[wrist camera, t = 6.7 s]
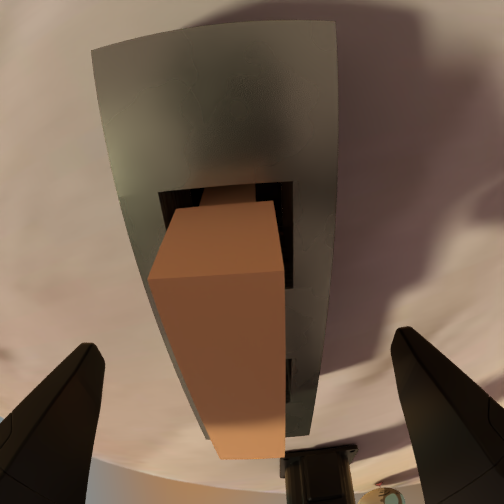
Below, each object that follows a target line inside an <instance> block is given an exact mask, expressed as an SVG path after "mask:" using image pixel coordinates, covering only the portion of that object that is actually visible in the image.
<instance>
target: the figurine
mask: <svg viewBox="0 0 504 504" xmlns="http://www.w3.org/2000/svg"><path fill="white" fill-rule="evenodd" d="M382 483H383V482H381V483H378V484H376V485H378V486H380V485H381V484H382ZM358 504H405V499H404V497H403V495H402V494H401V493H400V492H399V491H397V490H395V489H392V488H378V489H374V490H372V491H370V492H368V493H366V494H365V495H364V496H363V497H362V498H361V499H360V500H359V502H358Z"/></svg>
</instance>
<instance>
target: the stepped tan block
mask: <svg viewBox="0 0 504 504" xmlns="http://www.w3.org/2000/svg"><path fill="white" fill-rule="evenodd" d="M147 280H148V283H149V286H150V289H151V292H152V295H153V298H154V301H155V304H156V307H157V310H158V312H159V315H160V318H161V321H162V324H163V326H164V329H165V332H166V335H167V337H168V340H169V343H170V345H171V348H172V351H173V353H174V356H175V358H176V361H177V363H178V366H179V368H180V371H181V373H182V376H183V378H184V381H185V383H186V385H187V388H188V390H189V392H190V395H191V397H192V399H193V402H194V404H195V406H196V409H197V411H198V413H199V415H200V417H201V420H202V422H203V424H204V426H205V428H206V431H207V433H208V435H209V437H210V439H211V441H212V443H213V445H214V447H215V449H216V451H217V453H218V456H219V458H220V459H264V458H281V457H285V405H286V345H285V278H284V265H283V259H282V252H281V246H280V240H279V233H278V227H277V221H276V215H275V209H274V203H273V201H262V202H256V190H255V183H253V184H239V185H226V186H214V187H205V189H204V192H203V195H202V198H201V202H200V205H199V207H189V208H179V209H176V210H175V213H174V215H173V217H172V220H171V222H170V224H169V227H168V229H167V231H166V234H165V236H164V239H163V241H162V243H161V246H160V248H159V251H158V253H157V256H156V258H155V261H154V263H153V266H152V268H151V271H150V274H149V276H148V279H147Z"/></svg>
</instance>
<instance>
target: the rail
mask: <svg viewBox="0 0 504 504" xmlns="http://www.w3.org/2000/svg"><path fill="white" fill-rule="evenodd" d="M91 55H92V63H93V71H94V78H95V85H96V91H97V98H98V104H99V110H100V115H101V121H102V126H103V131H104V137H105V142H106V146H107V151H108V156H109V160H110V165H111V169H112V174H113V178H114V182H115V186H116V190H117V194H118V198H119V202H120V206H121V210H122V214H123V217H124V221H125V225H126V228H127V232H128V235H129V239H130V242H131V246H132V249H133V252H134V256H135V259H136V262H137V265H138V269H139V272H140V275H141V278H142V281H143V284H144V287H145V290H146V293H147V296H148V299H149V302H150V305H151V308H152V310H153V313H154V316H155V319H156V322H157V324H158V327H159V330H160V332H161V335H162V338H163V340H164V343H165V346H166V348H167V351H168V353H169V356H170V358H171V361H172V363H173V366H174V368H175V371H176V373H177V376H178V378H179V380H180V383H181V385H182V387H183V390H184V392H185V394H186V397H187V399H188V401H189V403H190V406H191V408H192V410H193V412H194V414H195V417H196V419H197V421H198V423H199V425H200V427H201V429H202V432H203V434H204V436H205V438H206V439H208V440H211V439H210V437H209V435H208V433H207V431H206V428H205V426H204V424H203V422H202V420H201V417H200V415H199V413H198V411H197V409H196V406H195V404H194V402H193V399H192V397H191V395H190V392H189V390H188V388H187V385H186V383H185V381H184V378H183V376H182V373H181V371H180V368H179V366H178V363H177V361H176V358H175V356H174V353H173V351H172V348H171V345H170V343H169V340H168V337H167V335H166V332H165V329H164V326H163V324H162V321H161V318H160V315H159V312H158V310H157V307H156V304H155V301H154V298H153V295H152V292H151V289H150V286H149V283H148V280H147V279H148V276H149V274H150V271H151V268H152V266H153V263H154V261H155V258H156V256H157V253H158V251H159V248H160V246H161V243H162V241H163V239H164V236H165V234H166V231H167V229H168V227H169V224H170V222H171V220H172V217H173V215H174V213H175V210H176V209H179V208H189V207H193V204H192V198H191V192H190V189H192V188H203V187H214V186H226V185H239V184H253V183H268V182H281V205H282V227H278V233H279V240H280V246H281V252H282V259H283V265H284V278H285V345H286V405H285V437H295V436H305V435H309V433H310V428H311V422H312V417H313V411H314V405H315V399H316V393H317V387H318V380H319V373H320V367H321V360H322V352H323V345H324V337H325V329H326V320H327V312H328V302H329V293H330V283H331V272H332V260H333V247H334V233H335V217H336V198H337V173H338V64H337V40H336V23H335V21H320V20H265V21H247V22H234V23H223V24H214V25H206V26H198V27H192V28H185V29H179V30H173V31H168V32H163V33H157V34H153V35H148V36H143V37H139V38H135V39H131V40H127V41H123V42H119V43H115V44H112V45H108V46H105V47H101V48H98V49H95V50H91Z"/></svg>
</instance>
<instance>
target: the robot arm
mask: <svg viewBox="0 0 504 504" xmlns="http://www.w3.org/2000/svg"><path fill="white" fill-rule="evenodd" d="M391 357H392V362H393V367H394V372H395V378H396V383H397V389H398V394H399V399H400V403H401V406H402V410H403V413H404V417H405V420H406V424H407V428H408V431H409V435H410V439H411V443H412V447H413V451H414V455H415V459H416V463H417V468H418V472H419V476H420V481H421V486H422V490H423V495H424V500H425V504H504V408H503V407H502V406H500V405H499V404H498V403H497V402H496V401H495V400H494V399H493V398H492V397H489V395H488V394H487V393H486V392H485V391H484V390H483V389H482V388H481V387H479V386H478V385H477V384H476V383H475V382H474V381H473V380H472V379H471V378H469V377H468V376H467V375H466V374H465V373H464V372H463V371H462V370H460V369H459V368H458V367H457V366H456V365H455V364H454V363H453V362H451V361H450V360H449V359H448V358H447V357H446V356H445V355H443V354H442V353H441V352H440V351H439V350H438V349H437V348H435V347H434V346H433V345H432V344H431V343H430V342H428V341H427V340H426V339H425V338H424V337H423V336H421V335H420V334H419V333H418V332H417V331H416V330H414V329H413V328H412V327H410V326H407V327H400V328H398V329H397V330H396V332H395V335H394V338H393V341H392V344H391ZM104 372H105V361H104V358H103V357H102V355H101V353H100V351H99V350H98V348H97V346H96V345H95V344H94V343H82V344H80V345H79V346H78V347H77V348H76V349H75V350H74V351H73V352H72V353H71V354H70V355H69V356H68V357H66V358H65V359H64V360H63V361H62V362H61V363H60V364H59V365H58V366H57V367H56V368H55V369H54V370H53V371H52V372H51V373H50V374H49V375H48V376H47V377H46V378H45V379H44V380H43V381H42V382H41V383H40V384H39V385H38V386H37V387H36V388H35V389H34V390H33V391H32V392H31V393H30V394H29V395H28V396H27V397H26V398H25V399H24V400H23V401H22V402H21V403H20V404H19V405H18V406H17V407H16V408H15V409H14V410H13V411H12V413H10V414H9V415H8V416H7V417H6V418H5V419H4V420H3V421H2V422H1V423H0V504H85V500H86V492H87V484H88V476H89V470H90V463H91V457H92V451H93V445H94V439H95V434H96V429H97V423H98V418H99V413H100V407H101V399H102V389H103V380H104ZM357 451H358V446H357V445H350V446H344V447H338V448H331V449H323V450H315V451H306V452H295V453H285V457H281V458H280V478H285V483H286V499H287V504H355V498H354V491H353V485H352V478H351V472H350V466H349V465H350V464H351V462H352V460H353V458H354V457H355V455H356V453H357Z"/></svg>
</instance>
